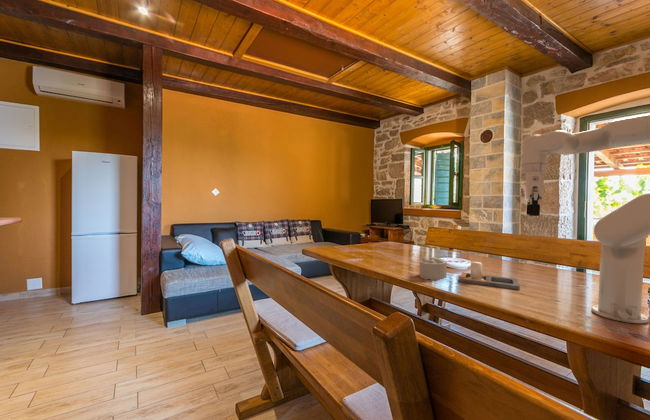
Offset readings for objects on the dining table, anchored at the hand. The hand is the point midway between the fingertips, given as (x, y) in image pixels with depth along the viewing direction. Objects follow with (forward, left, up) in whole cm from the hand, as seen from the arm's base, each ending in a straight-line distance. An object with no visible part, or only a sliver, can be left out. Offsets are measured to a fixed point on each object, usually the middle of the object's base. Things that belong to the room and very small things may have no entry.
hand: (532, 215), depth 112 cm
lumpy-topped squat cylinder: (+8, +37, -31) cm, 49 cm away
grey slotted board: (+12, +14, -30) cm, 35 cm away
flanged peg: (+12, +19, -30) cm, 38 cm away
